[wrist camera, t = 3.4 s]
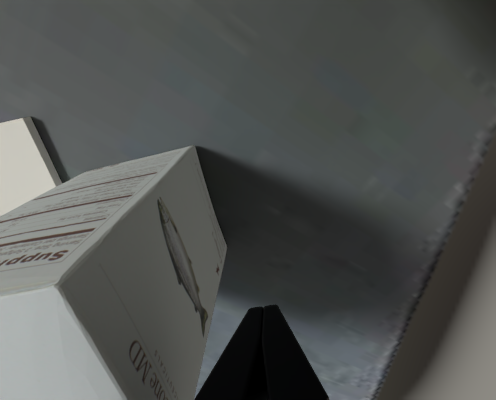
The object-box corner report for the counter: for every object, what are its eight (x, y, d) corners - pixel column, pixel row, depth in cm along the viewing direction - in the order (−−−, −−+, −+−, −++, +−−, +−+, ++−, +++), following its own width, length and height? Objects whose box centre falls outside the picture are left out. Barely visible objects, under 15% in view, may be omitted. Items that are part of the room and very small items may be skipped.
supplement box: (230, 248, 20) (183, 495, 8) (128, 265, 21) (-41, 508, 9) (198, 140, 17) (58, 285, 6) (82, 166, 18) (-241, 336, 7)
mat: (30, 116, 17) (22, 117, 16) (120, 305, 22) (116, 310, 22) (-127, 153, 18) (-139, 155, 18) (-7, 322, 24) (-14, 328, 23)
